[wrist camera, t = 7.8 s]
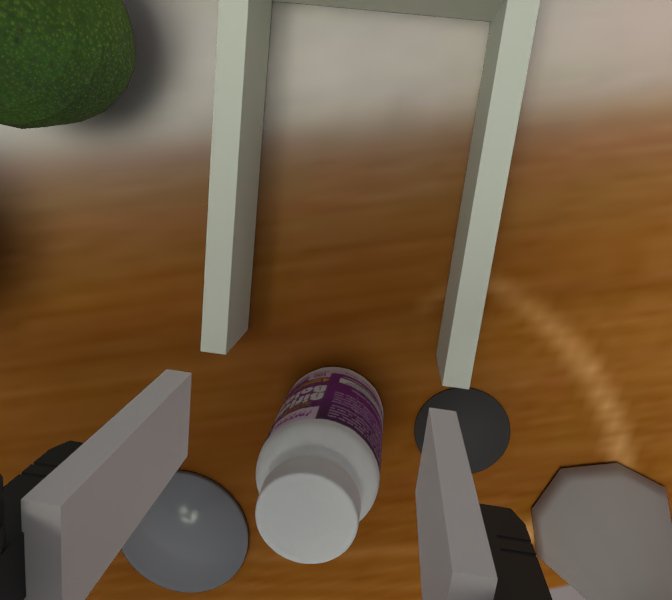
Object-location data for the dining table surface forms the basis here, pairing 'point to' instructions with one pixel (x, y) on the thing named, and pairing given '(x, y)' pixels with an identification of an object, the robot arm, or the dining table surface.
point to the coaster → (190, 536)
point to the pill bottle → (320, 466)
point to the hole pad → (471, 424)
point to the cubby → (245, 154)
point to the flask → (606, 533)
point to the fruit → (62, 60)
